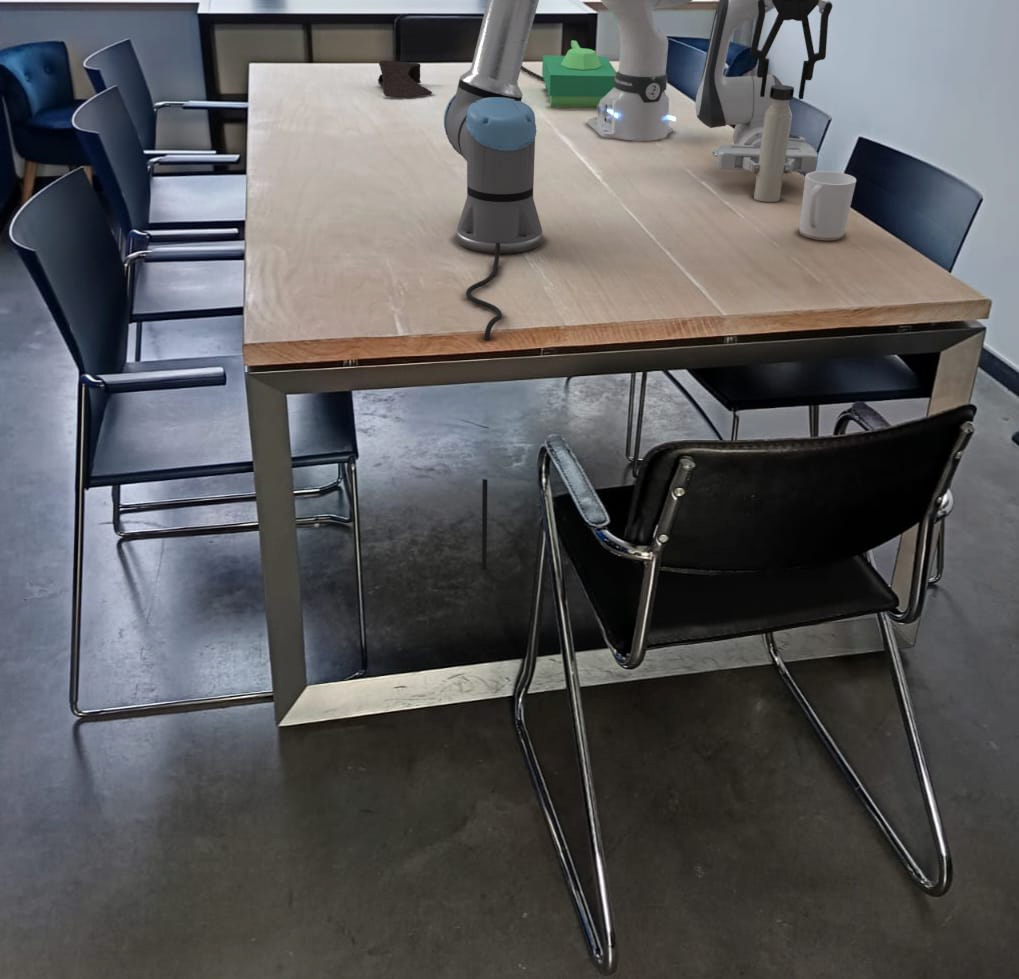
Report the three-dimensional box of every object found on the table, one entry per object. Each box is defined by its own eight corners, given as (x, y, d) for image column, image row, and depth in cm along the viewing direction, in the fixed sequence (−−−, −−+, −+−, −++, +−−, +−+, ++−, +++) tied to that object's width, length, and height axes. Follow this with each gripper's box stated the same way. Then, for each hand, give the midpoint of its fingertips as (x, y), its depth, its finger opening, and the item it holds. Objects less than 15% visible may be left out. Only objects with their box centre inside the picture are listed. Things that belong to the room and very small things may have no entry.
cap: (790, 95, 213) (792, 85, 212) (794, 100, 209) (796, 90, 208) (767, 95, 213) (769, 84, 212) (771, 100, 209) (773, 89, 208)
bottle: (757, 202, 219) (772, 93, 208) (751, 194, 223) (765, 87, 212) (782, 202, 219) (799, 93, 208) (775, 194, 224) (791, 87, 213)
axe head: (443, 87, 294) (392, 77, 287) (436, 115, 299) (385, 106, 292) (421, 62, 307) (371, 52, 300) (414, 89, 311) (365, 80, 304)
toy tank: (603, 37, 308) (620, 60, 279) (600, 82, 315) (616, 110, 285) (541, 36, 308) (551, 59, 278) (539, 81, 314) (548, 109, 284)
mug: (809, 222, 208) (818, 168, 202) (854, 233, 203) (864, 177, 197) (782, 236, 200) (791, 180, 195) (827, 247, 195) (838, 190, 190)
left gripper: (745, -36, 197) (729, 97, 209) (857, -31, 194) (834, 103, 206) (746, -40, 203) (730, 89, 215) (854, -35, 201) (832, 95, 213)
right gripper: (713, 134, 228) (721, 151, 216) (811, 137, 227) (825, 154, 215) (709, 164, 231) (717, 183, 219) (806, 167, 230) (820, 186, 219)
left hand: (781, 96), depth 211 cm, fingers open, 7 cm apart
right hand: (772, 169), depth 217 cm, fingers closed on bottle, 5 cm apart
